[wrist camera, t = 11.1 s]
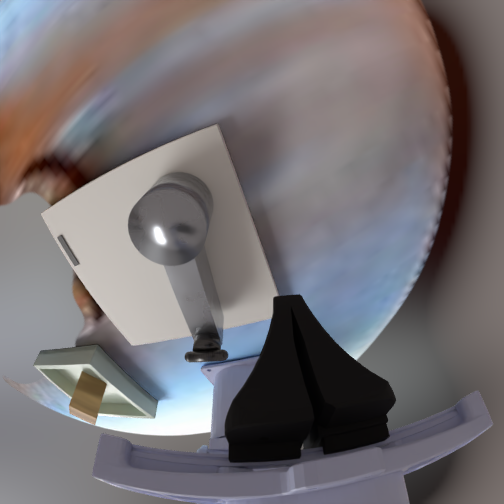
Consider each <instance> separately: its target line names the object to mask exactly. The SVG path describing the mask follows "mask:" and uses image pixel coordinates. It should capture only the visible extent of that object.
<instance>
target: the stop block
mask: <svg viewBox="0 0 504 504" xmlns="http://www.w3.org/2000/svg"><path fill="white" fill-rule="evenodd" d="M106 385H107V384H106V383H105V382H104V381H102V380H100V379H97V378H95V377H93V376H91V375H89V374H87V373H85V372H83V371H82V372H81V375H80V377H79V380H78V383H77V385H76V388H75V391H74V393H73V396H72V399H71V402H70V405H69V410H70V414H72V415H74V416H76V417H78V418H80V419H82V420H85V421H87V422H89V423H91V424H94V425H95V423H96V419H97V416H98V412H99V409H100V405H101V402H102V399H103V395H104V392H105V389H106Z"/></svg>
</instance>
